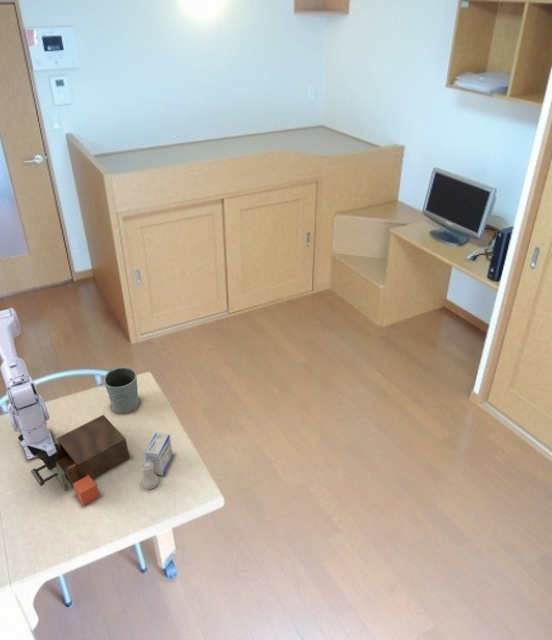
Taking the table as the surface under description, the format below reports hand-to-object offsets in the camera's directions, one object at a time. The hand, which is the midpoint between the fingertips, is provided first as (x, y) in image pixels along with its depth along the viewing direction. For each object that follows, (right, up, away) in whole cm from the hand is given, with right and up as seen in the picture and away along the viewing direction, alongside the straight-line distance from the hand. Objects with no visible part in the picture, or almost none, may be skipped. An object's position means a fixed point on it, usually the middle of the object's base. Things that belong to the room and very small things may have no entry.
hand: (44, 460), depth 141 cm
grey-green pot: (+12, +9, +33) cm, 36 cm away
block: (+11, -10, +2) cm, 15 cm away
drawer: (+3, -5, +9) cm, 10 cm away
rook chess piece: (+27, -8, +6) cm, 29 cm away
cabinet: (+9, -3, +13) cm, 16 cm away
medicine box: (+28, -4, +11) cm, 31 cm away
